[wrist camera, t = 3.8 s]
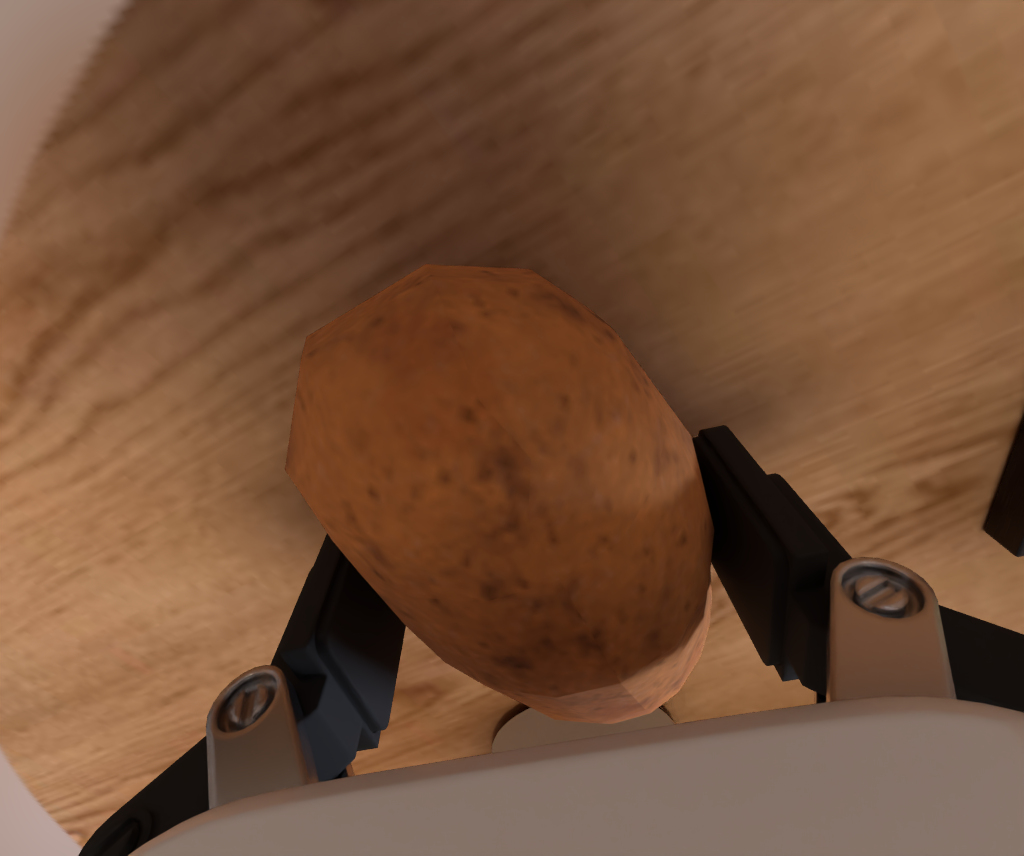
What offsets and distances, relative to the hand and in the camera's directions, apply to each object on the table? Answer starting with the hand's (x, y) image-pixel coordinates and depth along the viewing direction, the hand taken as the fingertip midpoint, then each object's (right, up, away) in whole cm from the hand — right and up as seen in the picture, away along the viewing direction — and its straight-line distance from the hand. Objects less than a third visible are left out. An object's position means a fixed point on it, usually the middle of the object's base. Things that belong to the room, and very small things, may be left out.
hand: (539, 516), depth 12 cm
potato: (0, +1, +2) cm, 3 cm away
